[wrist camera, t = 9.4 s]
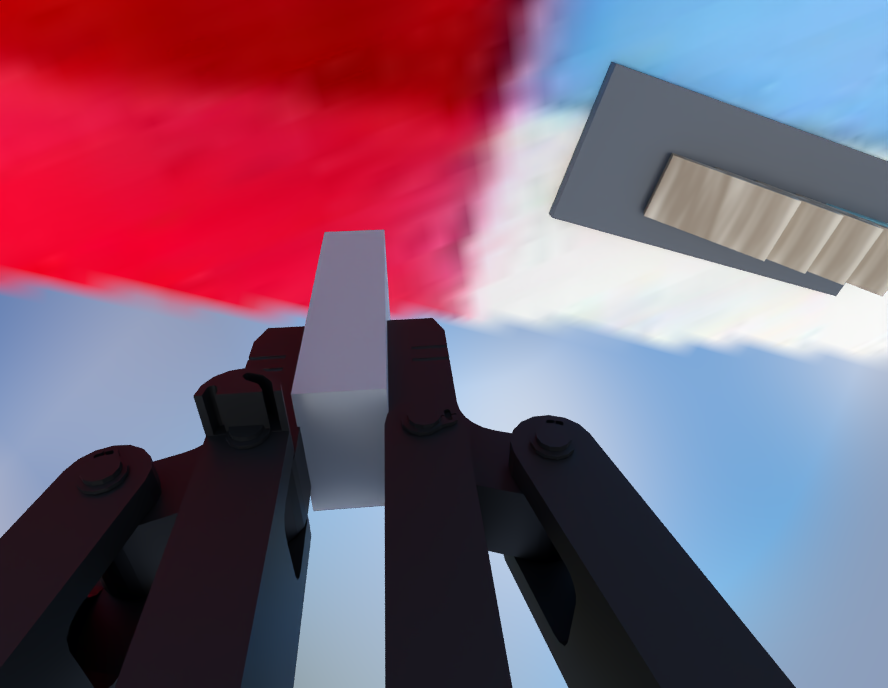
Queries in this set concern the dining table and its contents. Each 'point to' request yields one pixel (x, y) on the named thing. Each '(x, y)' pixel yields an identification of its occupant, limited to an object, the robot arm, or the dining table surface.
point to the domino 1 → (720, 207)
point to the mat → (711, 143)
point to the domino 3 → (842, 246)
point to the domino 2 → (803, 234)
